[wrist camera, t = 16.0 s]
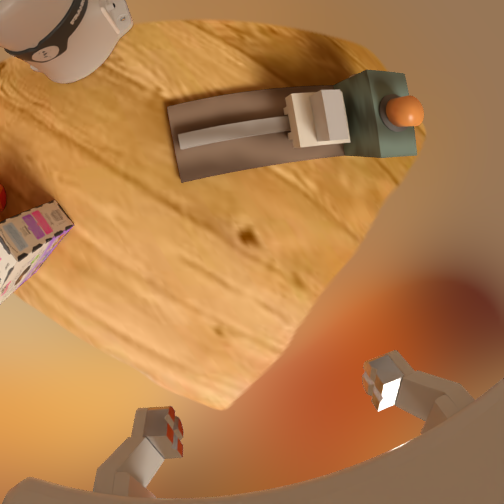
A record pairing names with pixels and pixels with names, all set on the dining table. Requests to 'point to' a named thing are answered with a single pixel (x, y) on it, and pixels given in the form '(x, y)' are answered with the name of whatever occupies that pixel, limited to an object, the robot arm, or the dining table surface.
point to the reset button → (405, 111)
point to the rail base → (242, 146)
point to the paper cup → (2, 198)
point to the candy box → (29, 243)
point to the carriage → (317, 118)
